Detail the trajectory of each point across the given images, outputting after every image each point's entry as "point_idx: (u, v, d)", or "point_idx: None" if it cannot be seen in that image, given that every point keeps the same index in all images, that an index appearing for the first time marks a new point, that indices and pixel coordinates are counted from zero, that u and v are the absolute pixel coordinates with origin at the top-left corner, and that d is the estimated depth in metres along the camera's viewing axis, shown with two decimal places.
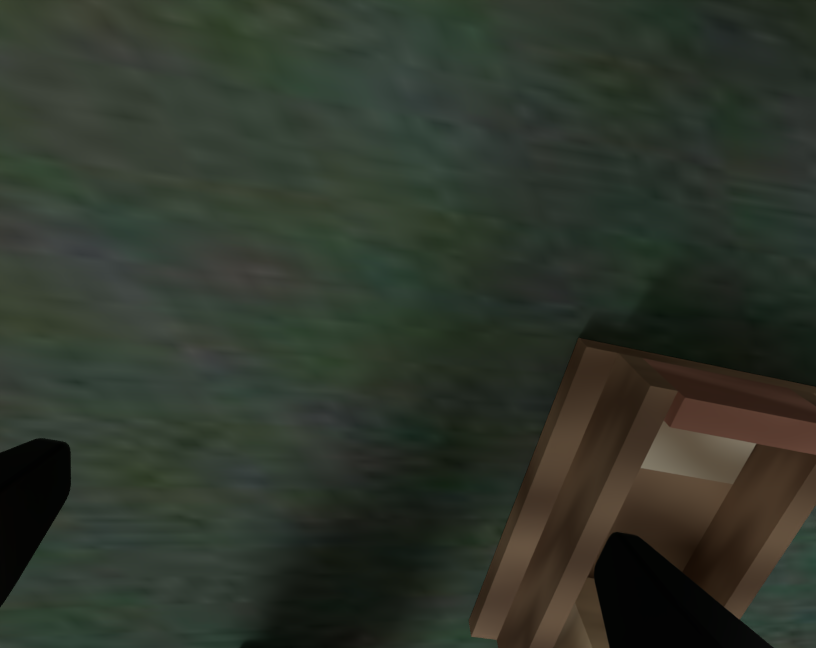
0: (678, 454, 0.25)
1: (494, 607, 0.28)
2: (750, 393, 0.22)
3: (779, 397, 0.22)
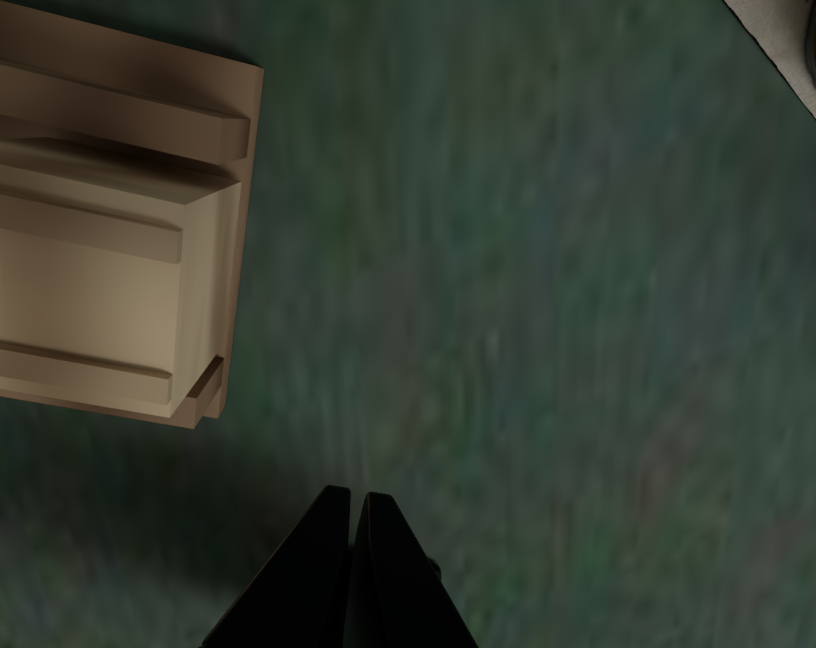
0: None
1: None
2: None
3: None
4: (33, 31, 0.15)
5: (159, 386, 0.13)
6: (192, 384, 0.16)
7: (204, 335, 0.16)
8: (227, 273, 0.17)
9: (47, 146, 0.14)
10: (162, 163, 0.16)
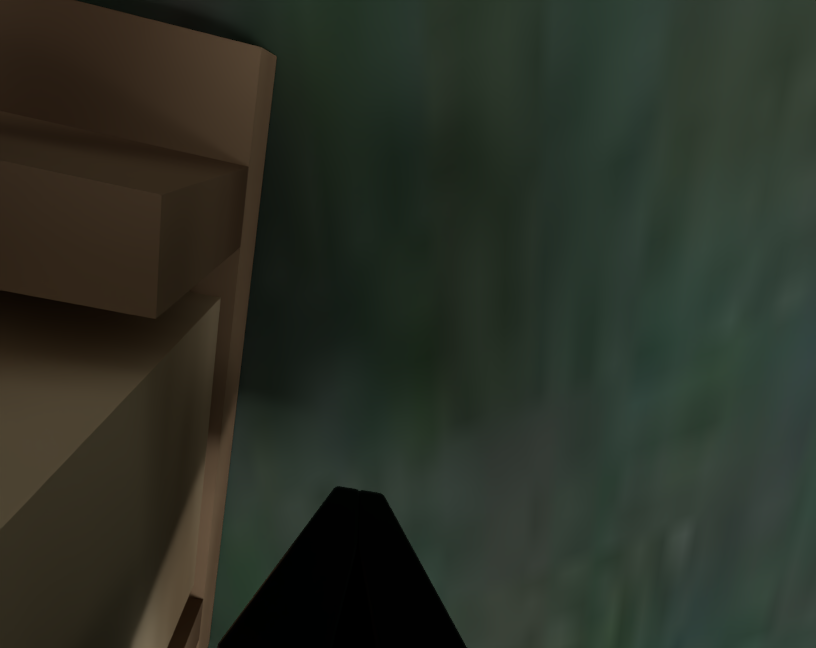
0: None
1: None
2: None
3: None
4: None
5: None
6: None
7: None
8: (193, 482, 0.08)
9: None
10: None
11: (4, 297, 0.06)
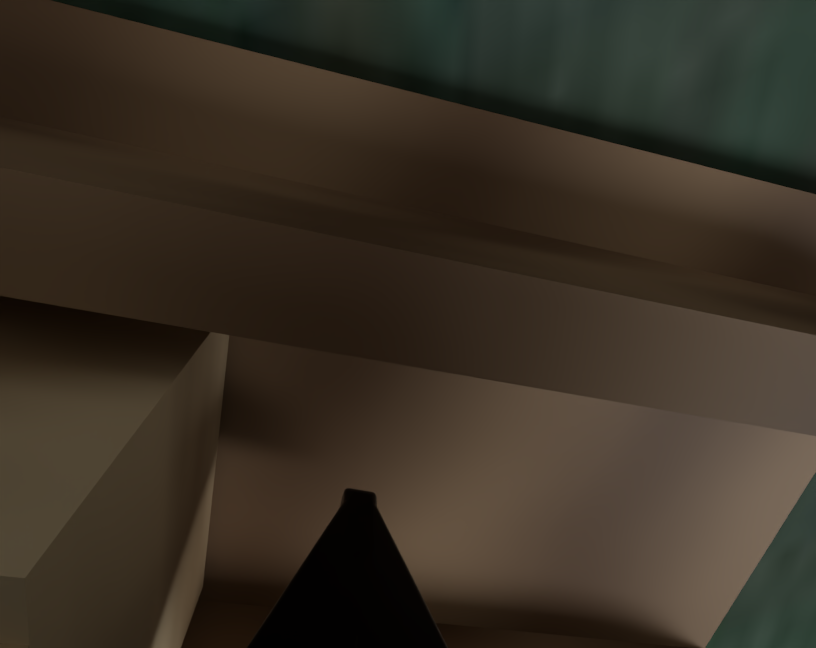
0: None
1: None
2: None
3: None
4: (595, 183, 0.08)
5: None
6: None
7: None
8: (206, 485, 0.08)
9: None
10: None
11: (22, 306, 0.06)
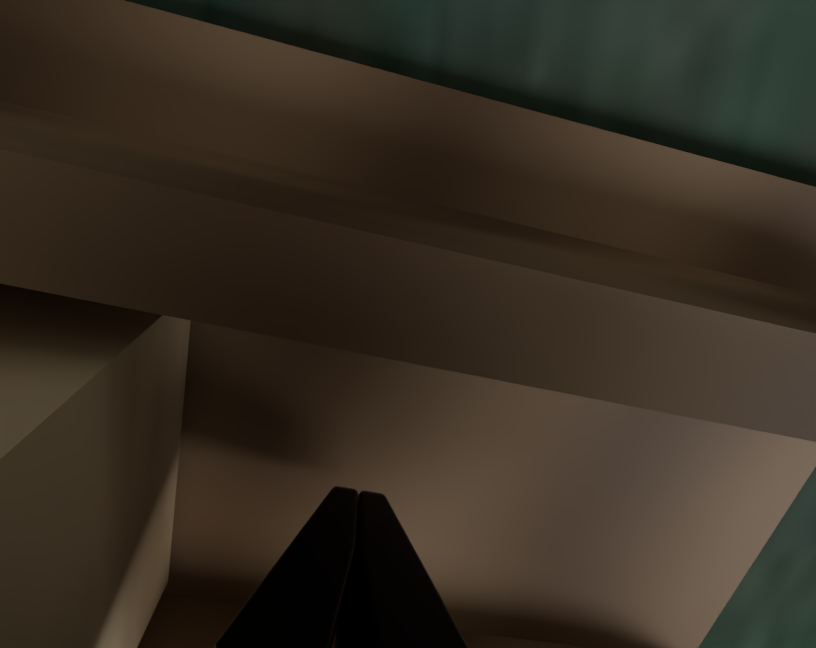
0: None
1: None
2: None
3: None
4: (573, 169, 0.07)
5: None
6: None
7: None
8: (166, 476, 0.08)
9: None
10: None
11: None
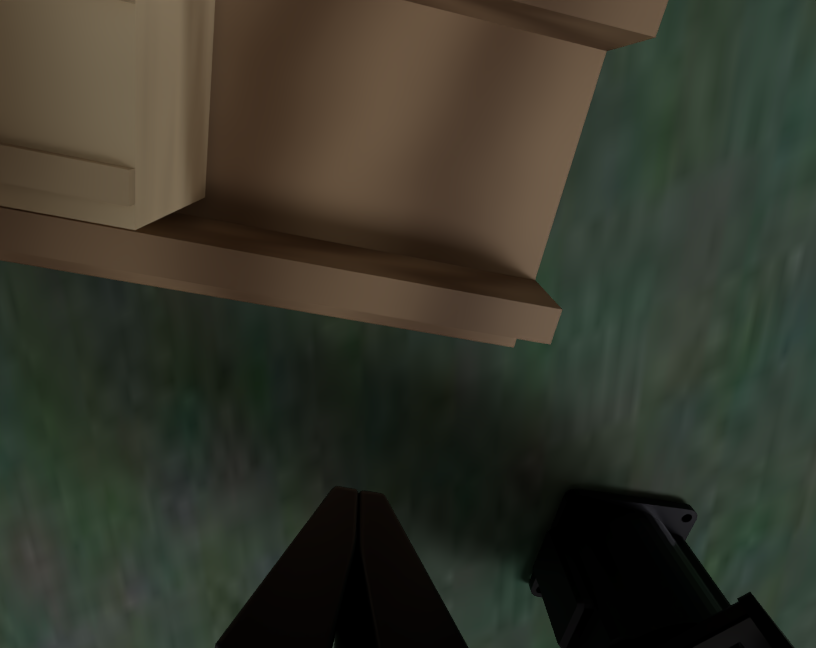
0: None
1: None
2: None
3: None
4: None
5: (118, 179, 0.11)
6: (165, 212, 0.13)
7: (177, 157, 0.13)
8: (204, 99, 0.15)
9: None
10: None
11: None
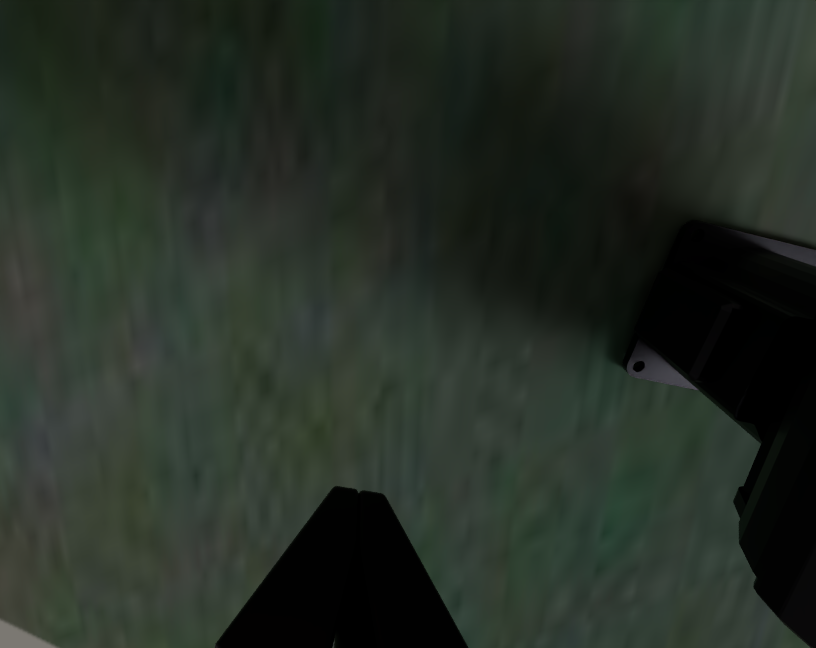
0: None
1: None
2: None
3: None
4: None
5: None
6: None
7: None
8: None
9: None
10: None
11: None
